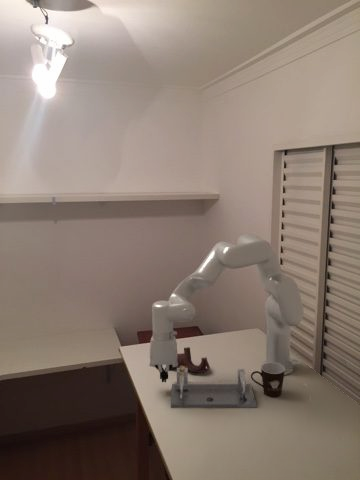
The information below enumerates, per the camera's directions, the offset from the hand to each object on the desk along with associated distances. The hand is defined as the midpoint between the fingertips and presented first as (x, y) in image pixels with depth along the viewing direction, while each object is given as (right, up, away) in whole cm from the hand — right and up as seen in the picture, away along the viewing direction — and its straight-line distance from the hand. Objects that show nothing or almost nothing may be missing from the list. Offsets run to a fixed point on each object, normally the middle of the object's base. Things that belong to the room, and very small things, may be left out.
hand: (164, 380), depth 159 cm
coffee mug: (+39, -4, -1) cm, 39 cm away
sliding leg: (+7, -3, -3) cm, 8 cm away
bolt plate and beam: (+18, -5, -4) cm, 19 cm away
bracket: (+10, -1, +17) cm, 20 cm away
